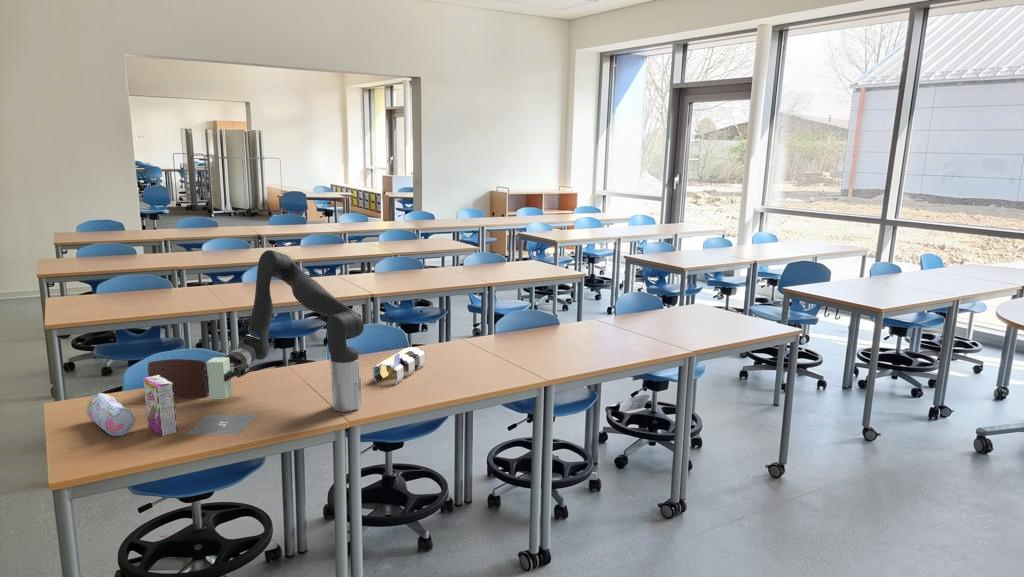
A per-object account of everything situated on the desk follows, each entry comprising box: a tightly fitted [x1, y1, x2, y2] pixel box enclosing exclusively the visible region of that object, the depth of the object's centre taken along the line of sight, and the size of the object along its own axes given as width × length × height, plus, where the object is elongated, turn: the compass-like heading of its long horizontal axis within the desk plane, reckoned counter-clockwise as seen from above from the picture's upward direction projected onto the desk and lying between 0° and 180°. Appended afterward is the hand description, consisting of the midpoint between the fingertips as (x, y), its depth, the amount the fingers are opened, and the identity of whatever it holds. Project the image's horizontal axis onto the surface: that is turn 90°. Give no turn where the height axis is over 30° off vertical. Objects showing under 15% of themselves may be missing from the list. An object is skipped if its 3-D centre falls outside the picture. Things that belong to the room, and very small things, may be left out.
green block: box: [206, 356, 233, 400], centre depth 206 cm, size 5×5×12 cm
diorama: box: [372, 346, 426, 385], centre depth 260 cm, size 25×10×13 cm, turn 163°
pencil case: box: [86, 392, 136, 437], centre depth 205 cm, size 21×9×10 cm, turn 46°
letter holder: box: [147, 358, 210, 398], centre depth 236 cm, size 10×20×14 cm, turn 95°
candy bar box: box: [142, 375, 178, 437], centre depth 202 cm, size 11×5×16 cm, turn 48°
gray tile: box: [186, 414, 257, 436], centre depth 209 cm, size 16×16×1 cm
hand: (216, 378), depth 203 cm, fingers closed on green block, 5 cm apart
